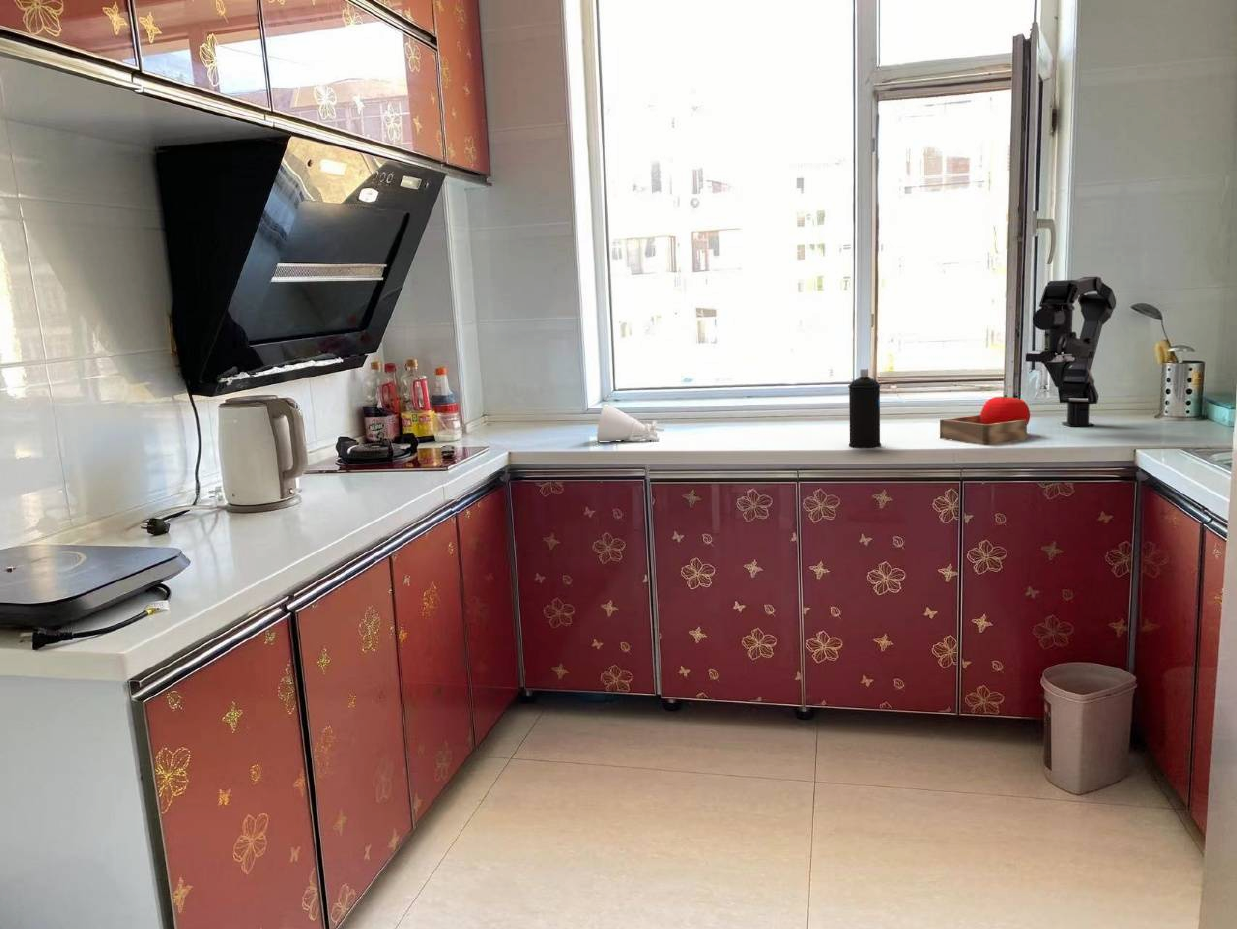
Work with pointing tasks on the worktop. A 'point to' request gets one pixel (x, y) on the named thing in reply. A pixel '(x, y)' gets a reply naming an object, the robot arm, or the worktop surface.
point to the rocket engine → (623, 427)
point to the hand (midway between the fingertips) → (1058, 387)
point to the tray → (982, 430)
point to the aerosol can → (864, 411)
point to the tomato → (1004, 410)
